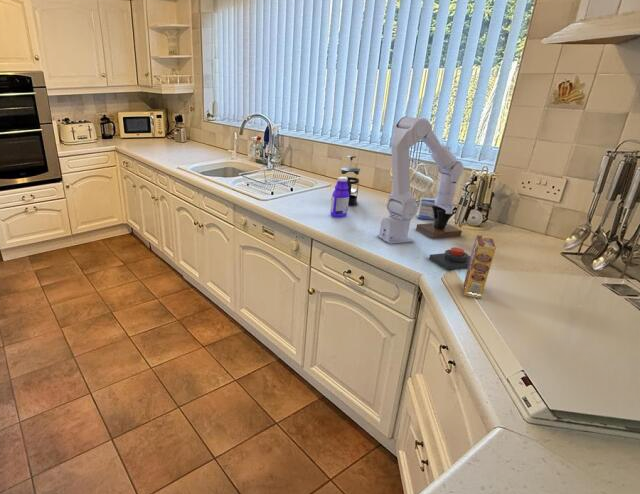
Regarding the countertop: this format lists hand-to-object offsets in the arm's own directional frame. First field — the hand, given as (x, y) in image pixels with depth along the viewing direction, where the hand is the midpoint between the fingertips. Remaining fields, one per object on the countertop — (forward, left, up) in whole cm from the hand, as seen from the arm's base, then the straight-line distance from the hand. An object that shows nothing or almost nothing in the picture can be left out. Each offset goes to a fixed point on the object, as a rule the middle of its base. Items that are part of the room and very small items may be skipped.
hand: (439, 226), depth 152 cm
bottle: (-28, +28, -3) cm, 40 cm away
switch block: (-13, -25, -3) cm, 28 cm away
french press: (-15, +46, -3) cm, 48 cm away
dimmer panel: (0, 0, -3) cm, 3 cm away
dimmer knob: (0, 0, 0) cm, 0 cm away
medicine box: (+8, +17, -3) cm, 19 cm away
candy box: (-21, -42, -3) cm, 47 cm away
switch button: (-13, -25, 0) cm, 28 cm away
